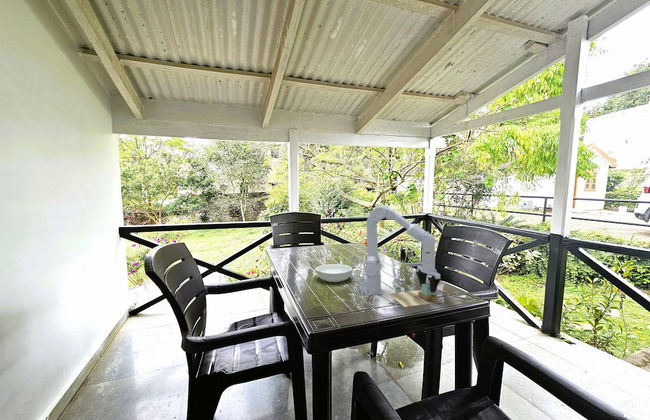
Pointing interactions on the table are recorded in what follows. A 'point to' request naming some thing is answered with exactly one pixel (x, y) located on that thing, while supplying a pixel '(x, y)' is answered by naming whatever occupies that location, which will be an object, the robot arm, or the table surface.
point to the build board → (410, 298)
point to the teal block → (426, 289)
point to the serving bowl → (334, 272)
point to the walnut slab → (428, 297)
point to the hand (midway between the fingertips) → (427, 289)
